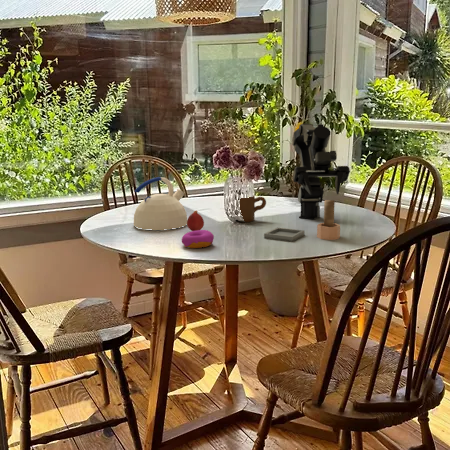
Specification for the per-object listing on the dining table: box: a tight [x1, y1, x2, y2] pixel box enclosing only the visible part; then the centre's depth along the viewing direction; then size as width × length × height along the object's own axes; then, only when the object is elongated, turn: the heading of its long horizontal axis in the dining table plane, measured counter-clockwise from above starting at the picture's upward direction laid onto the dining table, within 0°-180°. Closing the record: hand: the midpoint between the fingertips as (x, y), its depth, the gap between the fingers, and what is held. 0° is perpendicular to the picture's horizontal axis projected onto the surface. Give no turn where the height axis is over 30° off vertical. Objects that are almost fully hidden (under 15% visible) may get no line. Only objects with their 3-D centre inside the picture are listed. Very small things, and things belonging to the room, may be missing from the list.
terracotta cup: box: [316, 222, 341, 241], centre depth 172 cm, size 7×7×4 cm
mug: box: [240, 195, 267, 223], centre depth 200 cm, size 12×8×9 cm, turn 90°
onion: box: [187, 210, 205, 232], centre depth 182 cm, size 6×6×8 cm
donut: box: [181, 229, 215, 249], centre depth 166 cm, size 10×10×4 cm
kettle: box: [133, 176, 188, 230], centre depth 194 cm, size 20×21×18 cm
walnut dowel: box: [323, 199, 335, 227], centre depth 171 cm, size 3×3×12 cm
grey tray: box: [263, 227, 305, 243], centre depth 174 cm, size 10×10×2 cm
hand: (324, 193), depth 177 cm, fingers open, 9 cm apart
